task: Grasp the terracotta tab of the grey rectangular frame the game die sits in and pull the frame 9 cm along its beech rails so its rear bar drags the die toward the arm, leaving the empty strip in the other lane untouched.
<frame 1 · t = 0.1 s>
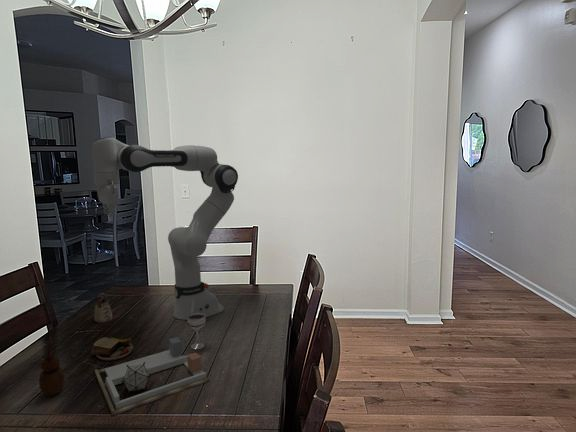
hand: (109, 215, 151), 48 cm above the table, tool pointing down, fingers open, 8 cm apart
toy sandwich meal: (113, 354, 141), on the table
inner strip: (145, 357, 131), point 3 cm above the table, slide at 0.0 cm
figurine: (103, 319, 170), on the table
lane rails: (152, 376, 126), on the table
game die: (137, 390, 118), on the table
wineglass: (197, 346, 146), on the table
grey rectangular frame: (157, 375, 122), point 3 cm above the table, slide at 0.0 cm
wooden figurine: (53, 392, 117), on the table
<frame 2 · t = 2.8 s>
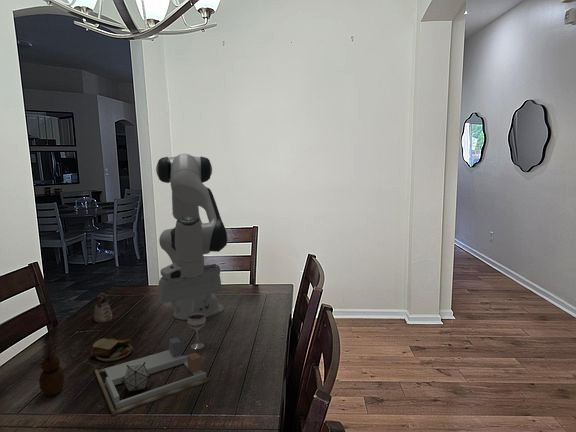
hand: (191, 309, 126), 21 cm above the table, tool pointing down, fingers open, 8 cm apart
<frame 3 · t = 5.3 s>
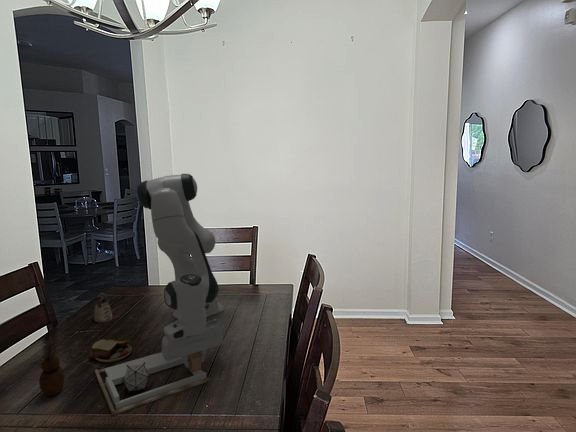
hand: (194, 364, 129), 2 cm above the table, tool pointing down, fingers closed on grey rectangular frame, 3 cm apart
grey rectangular frame: (157, 375, 122), point 3 cm above the table, slide at 0.0 cm, touching gripper
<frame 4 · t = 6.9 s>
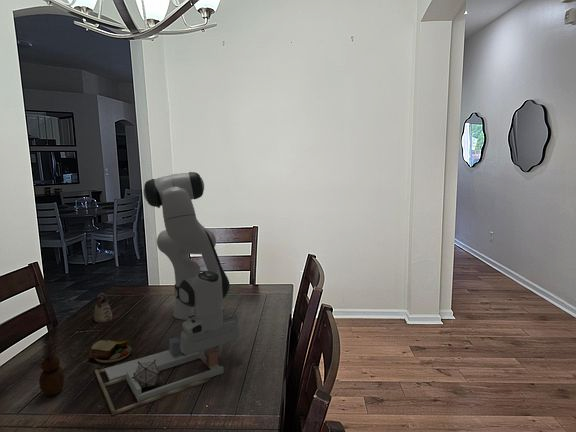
hand: (211, 358, 132), 2 cm above the table, tool pointing down, fingers open, 3 cm apart
game die: (147, 387, 120), on the table
grey rectangular frame: (176, 368, 125), point 3 cm above the table, slide at 6.1 cm, touching gripper
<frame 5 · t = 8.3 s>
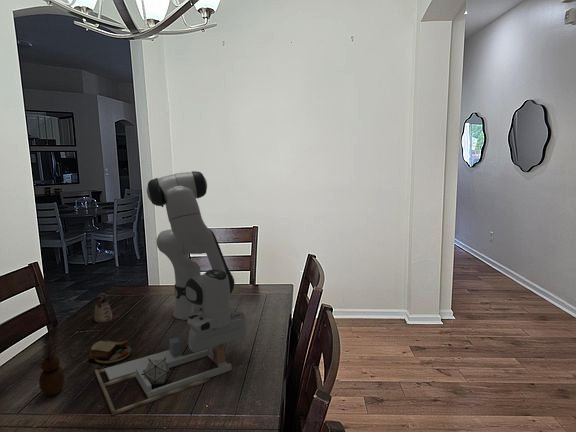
hand: (218, 355, 134), 2 cm above the table, tool pointing down, fingers closed on grey rectangular frame, 3 cm apart
game die: (157, 384, 121), on the table
grey rectangular frame: (184, 366, 127), point 3 cm above the table, slide at 8.9 cm, touching gripper
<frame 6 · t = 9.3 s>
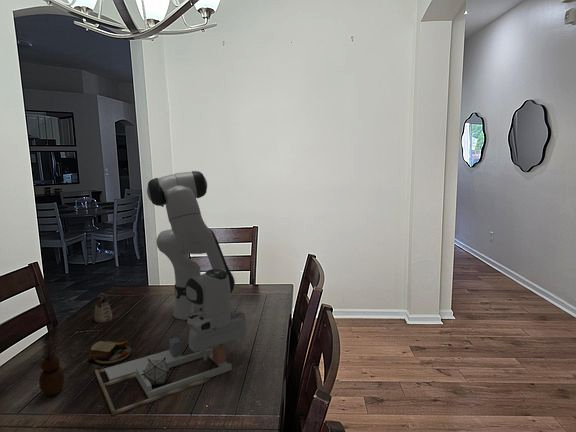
hand: (219, 355, 134), 3 cm above the table, tool pointing down, fingers open, 8 cm apart
grey rectangular frame: (184, 366, 127), point 3 cm above the table, slide at 9.0 cm
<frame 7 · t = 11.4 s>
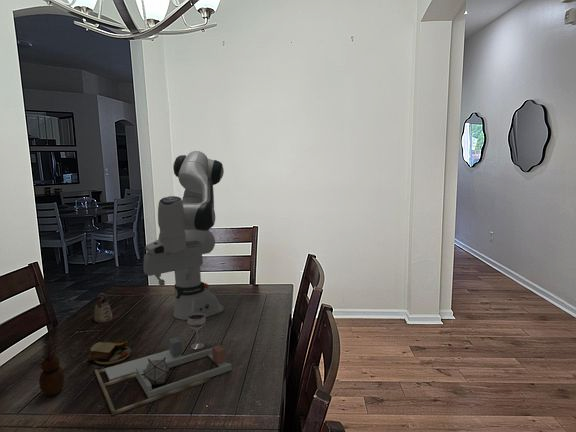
hand: (175, 282, 136), 27 cm above the table, tool pointing down, fingers open, 8 cm apart
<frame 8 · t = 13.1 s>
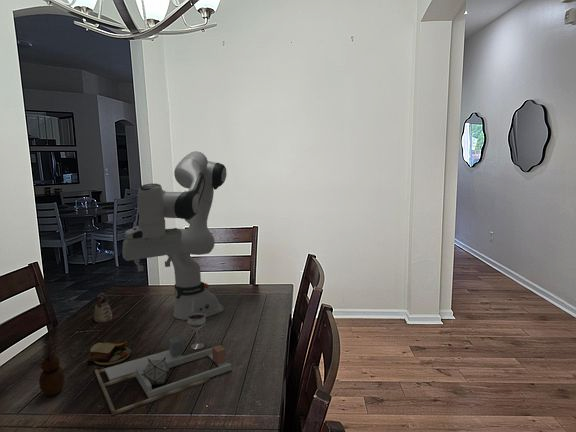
hand: (154, 268, 138), 31 cm above the table, tool pointing down, fingers open, 8 cm apart
at the end: grey rectangular frame slide at 9.0 cm; game die inside the target area on the grey rectangular frame (3.5 cm from its centre), point 0.0 cm above the grey rectangular frame's base; inner strip slide at 0.0 cm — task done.
